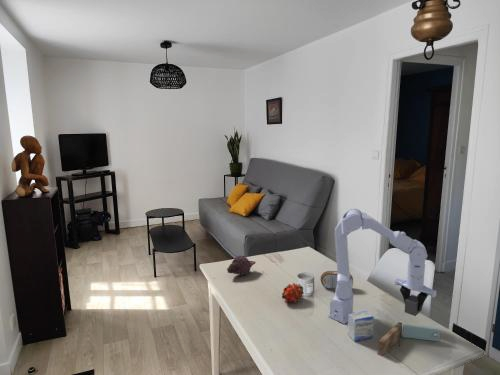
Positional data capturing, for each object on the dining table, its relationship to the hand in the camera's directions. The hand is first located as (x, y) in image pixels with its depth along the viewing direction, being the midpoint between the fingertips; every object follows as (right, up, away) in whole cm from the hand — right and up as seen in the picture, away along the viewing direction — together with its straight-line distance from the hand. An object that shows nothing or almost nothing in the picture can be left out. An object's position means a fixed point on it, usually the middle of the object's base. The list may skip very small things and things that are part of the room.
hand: (413, 307), depth 131 cm
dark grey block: (0, -1, 0) cm, 2 cm away
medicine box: (-22, -9, -4) cm, 24 cm away
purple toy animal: (-67, 0, +50) cm, 83 cm away
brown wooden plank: (-13, -10, -10) cm, 19 cm away
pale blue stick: (-1, -9, -7) cm, 11 cm away
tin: (-21, -2, +33) cm, 39 cm away
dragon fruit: (-43, -5, +22) cm, 49 cm away
